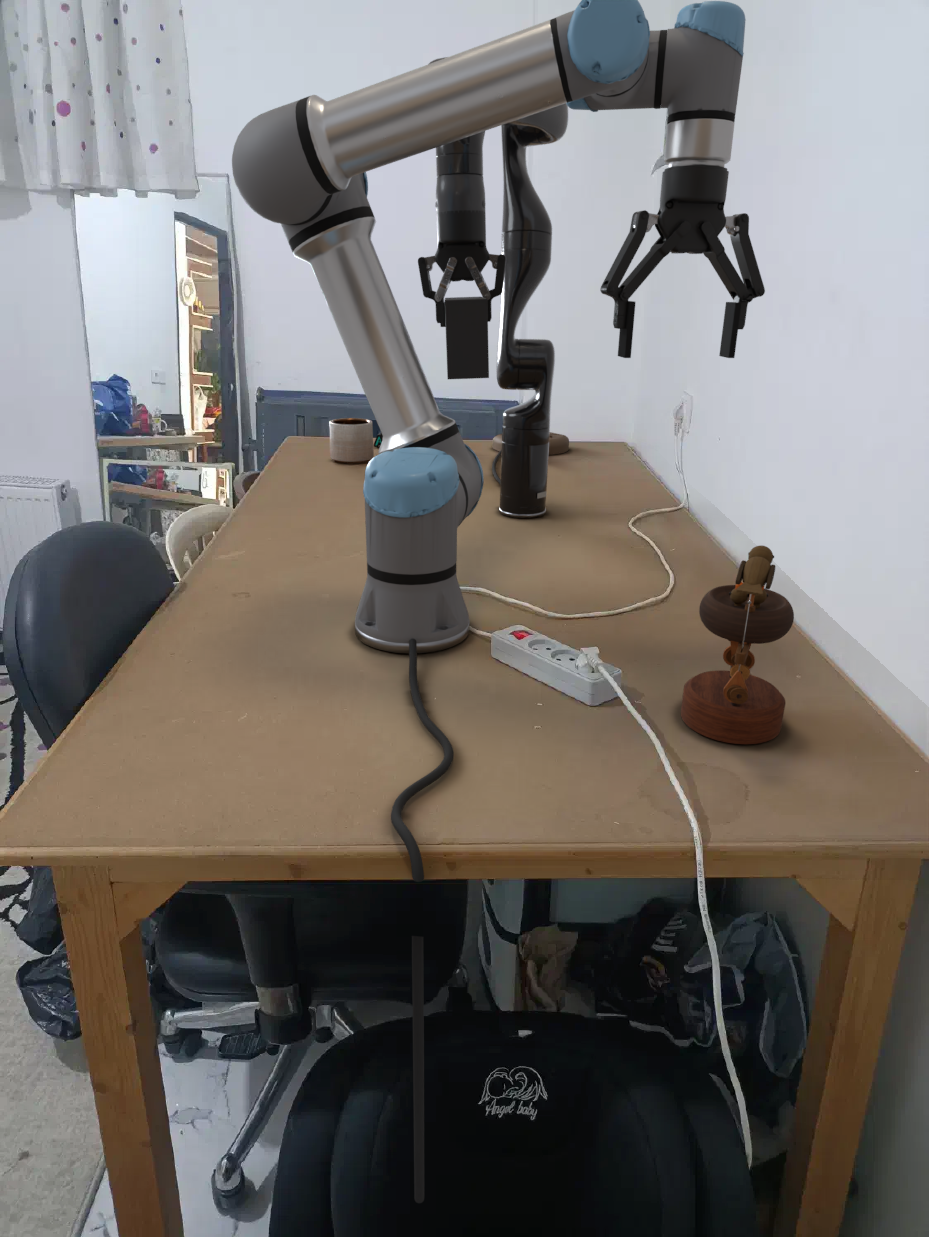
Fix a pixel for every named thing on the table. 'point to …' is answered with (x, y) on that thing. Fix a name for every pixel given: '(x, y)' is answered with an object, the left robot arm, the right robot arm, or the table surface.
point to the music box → (740, 658)
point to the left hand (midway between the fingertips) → (675, 357)
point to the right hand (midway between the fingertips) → (463, 325)
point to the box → (467, 337)
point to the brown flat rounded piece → (556, 443)
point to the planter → (351, 440)
